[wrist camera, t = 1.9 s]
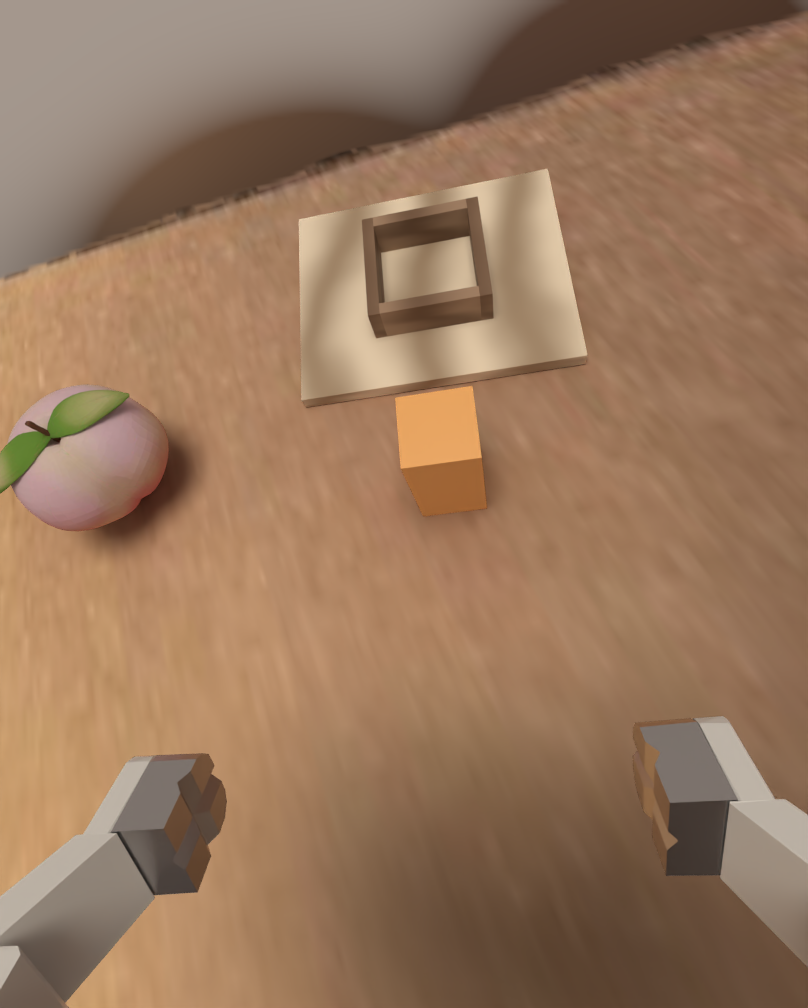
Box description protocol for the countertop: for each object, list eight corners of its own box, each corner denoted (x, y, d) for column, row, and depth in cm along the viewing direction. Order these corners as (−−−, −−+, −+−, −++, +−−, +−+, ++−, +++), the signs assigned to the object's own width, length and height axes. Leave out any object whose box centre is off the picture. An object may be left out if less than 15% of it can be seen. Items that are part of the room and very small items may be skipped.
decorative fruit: (155, 405, 42) (53, 321, 32) (220, 471, 39) (129, 401, 29) (58, 495, 40) (-76, 435, 31) (118, 570, 38) (-10, 530, 28)
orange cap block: (479, 449, 36) (472, 385, 29) (487, 508, 35) (481, 457, 27) (417, 458, 37) (395, 397, 29) (423, 516, 35) (400, 468, 28)
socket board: (546, 180, 42) (549, 136, 39) (585, 363, 37) (593, 331, 33) (303, 229, 45) (287, 192, 41) (306, 407, 39) (288, 381, 36)
